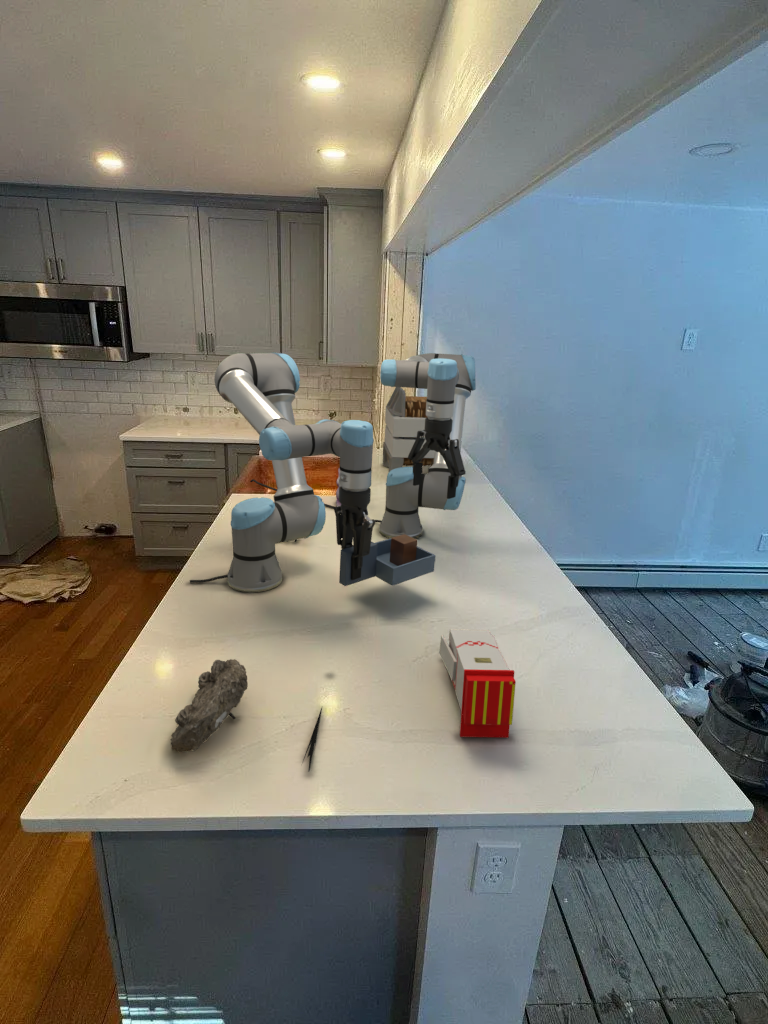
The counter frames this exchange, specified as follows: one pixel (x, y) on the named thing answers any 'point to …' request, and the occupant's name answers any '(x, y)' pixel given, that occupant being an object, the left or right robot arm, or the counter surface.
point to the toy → (479, 682)
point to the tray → (385, 565)
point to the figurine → (338, 490)
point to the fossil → (210, 704)
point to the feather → (313, 740)
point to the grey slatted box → (404, 429)
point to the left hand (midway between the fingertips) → (351, 575)
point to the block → (403, 549)
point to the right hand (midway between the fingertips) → (433, 491)
